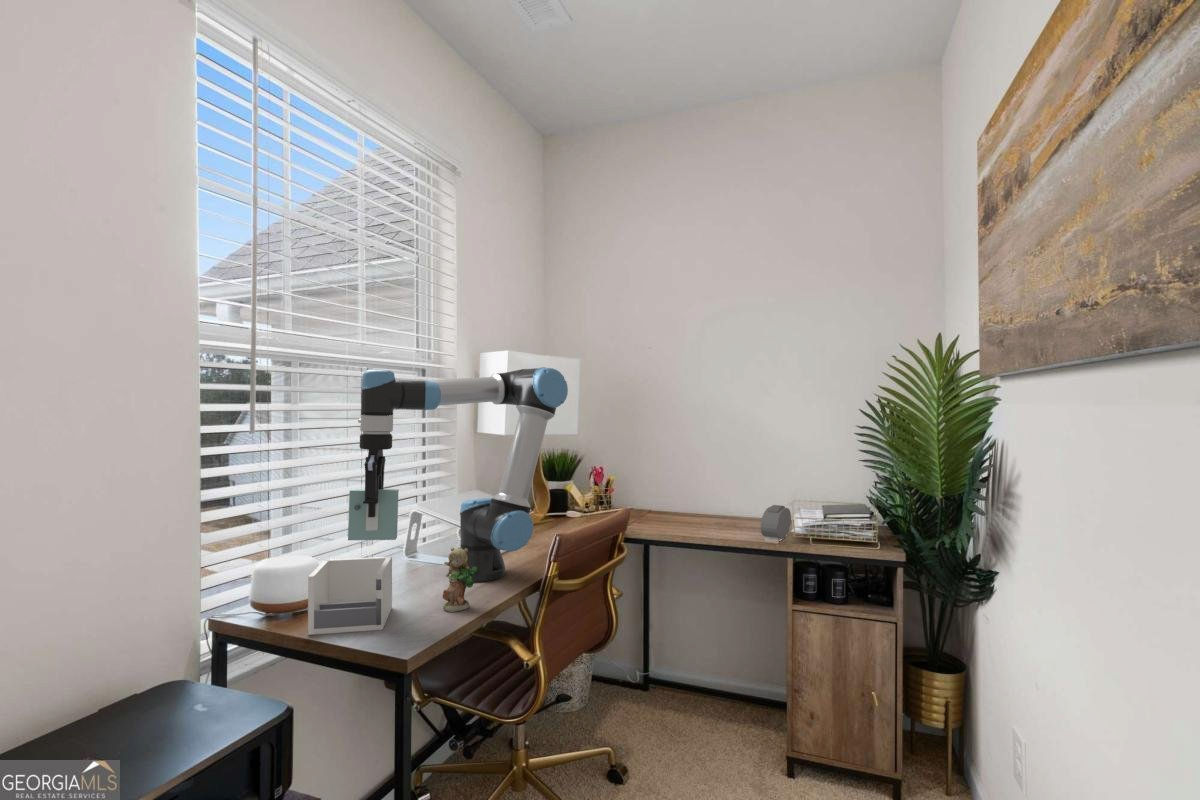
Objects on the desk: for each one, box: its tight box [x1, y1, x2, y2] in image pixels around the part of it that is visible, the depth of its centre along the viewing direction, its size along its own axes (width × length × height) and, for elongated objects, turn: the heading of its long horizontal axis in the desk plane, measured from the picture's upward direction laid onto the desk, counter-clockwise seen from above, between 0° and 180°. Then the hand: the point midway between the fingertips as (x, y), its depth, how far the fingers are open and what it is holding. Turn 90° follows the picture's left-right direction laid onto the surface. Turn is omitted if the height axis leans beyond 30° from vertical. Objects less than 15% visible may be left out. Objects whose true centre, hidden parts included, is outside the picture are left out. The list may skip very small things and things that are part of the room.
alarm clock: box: [759, 504, 792, 542], centre depth 227 cm, size 23×6×13 cm, turn 150°
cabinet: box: [307, 555, 393, 636], centre depth 143 cm, size 16×15×13 cm
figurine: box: [442, 547, 478, 613], centre depth 152 cm, size 9×8×15 cm
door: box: [347, 488, 399, 541], centre depth 145 cm, size 11×4×12 cm, turn 100°
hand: (373, 528), depth 146 cm, fingers closed on door, 2 cm apart
